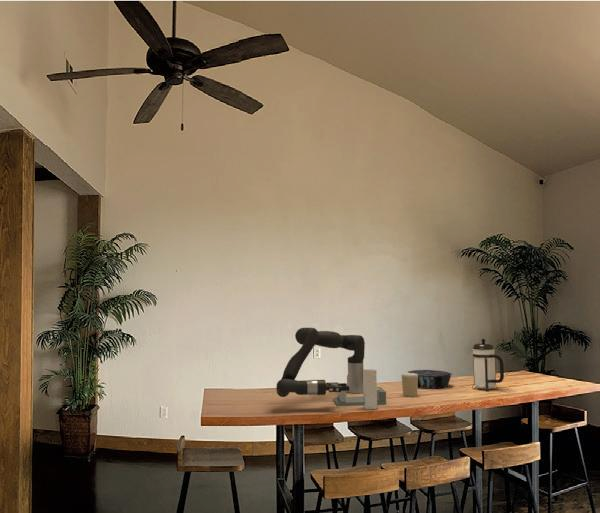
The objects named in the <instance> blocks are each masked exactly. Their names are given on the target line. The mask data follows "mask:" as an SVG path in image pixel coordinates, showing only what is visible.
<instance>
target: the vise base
mask: <svg viewBox="0 0 600 513" xmlns="http://www.w3.org/2000/svg"><path fill="white" fill-rule="evenodd" d="M332 401H333V402H334V403H336V404H335V406H337V407H339V406H341V407H342V406H344V407H346V406H364V400H363V395H362V396H346V402H340V401H339V399H338V398H337V396H333V398H332ZM385 404H386V405H387V391H386V390H385V389H384V388H382V387H381V386H377V406H378V405H379V406H381V405H383V406H384V405H385Z"/></svg>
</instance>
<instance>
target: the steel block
mask: <svg viewBox="0 0 600 513" xmlns="http://www.w3.org/2000/svg"><path fill="white" fill-rule="evenodd" d="M377 378H378V377H377V370H376V369H374V368H373V369H363V393H362V394H363V395H362V396H363V400H364V405H363V409H364V410H377V409H378V405H377V387H378V386H377V385H378V384H377V382H378V380H377Z"/></svg>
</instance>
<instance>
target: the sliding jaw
mask: <svg viewBox="0 0 600 513" xmlns="http://www.w3.org/2000/svg"><path fill="white" fill-rule="evenodd" d="M338 390H339V388H338ZM336 397H337V398H338V399H339V401H340V402H346V397H347V391H341V392H336Z"/></svg>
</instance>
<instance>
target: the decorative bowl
mask: <svg viewBox="0 0 600 513" xmlns="http://www.w3.org/2000/svg"><path fill="white" fill-rule="evenodd" d="M407 373H415V374H418V388H420V389H428V390H429V389H432V390H434V389H438V390H439V389H443V388H444V389H445V388H448V386H449V383H450V381H451V377H452V375H453V373H452V372H449V371H444V370H439V369H437V370H434V369H414V370H408V371H407Z"/></svg>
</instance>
